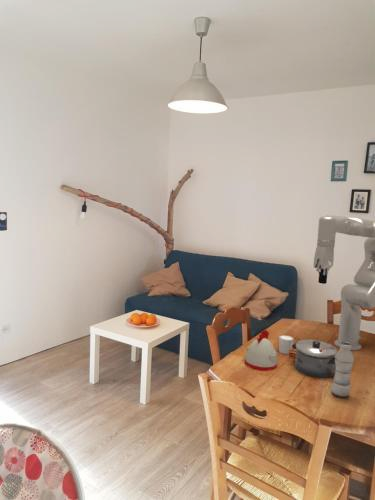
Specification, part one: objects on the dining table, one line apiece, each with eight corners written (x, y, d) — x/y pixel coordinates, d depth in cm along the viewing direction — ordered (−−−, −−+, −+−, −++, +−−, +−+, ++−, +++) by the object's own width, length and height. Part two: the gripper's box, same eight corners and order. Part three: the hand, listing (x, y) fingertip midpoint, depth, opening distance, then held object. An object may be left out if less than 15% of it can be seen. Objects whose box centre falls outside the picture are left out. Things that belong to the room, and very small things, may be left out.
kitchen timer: (282, 364, 168) (285, 331, 166) (266, 374, 158) (269, 339, 156) (255, 354, 177) (258, 323, 175) (238, 363, 167) (240, 330, 165)
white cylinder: (292, 355, 179) (294, 341, 178) (277, 353, 180) (279, 339, 179) (292, 349, 186) (293, 336, 185) (277, 348, 187) (278, 334, 186)
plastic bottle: (327, 390, 146) (332, 340, 144) (344, 390, 147) (350, 340, 144) (335, 399, 140) (341, 346, 137) (353, 399, 141) (359, 347, 138)
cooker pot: (302, 356, 178) (304, 337, 177) (356, 376, 159) (358, 356, 158) (281, 364, 167) (283, 345, 166) (336, 388, 149) (338, 366, 147)
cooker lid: (309, 339, 175) (309, 332, 175) (343, 351, 163) (344, 344, 162) (288, 347, 164) (289, 340, 164) (323, 360, 152) (324, 352, 152)
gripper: (326, 241, 182) (323, 279, 185) (309, 243, 172) (306, 283, 175) (341, 243, 176) (338, 282, 179) (325, 245, 166) (321, 286, 169)
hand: (322, 283), depth 177 cm, fingers closed
